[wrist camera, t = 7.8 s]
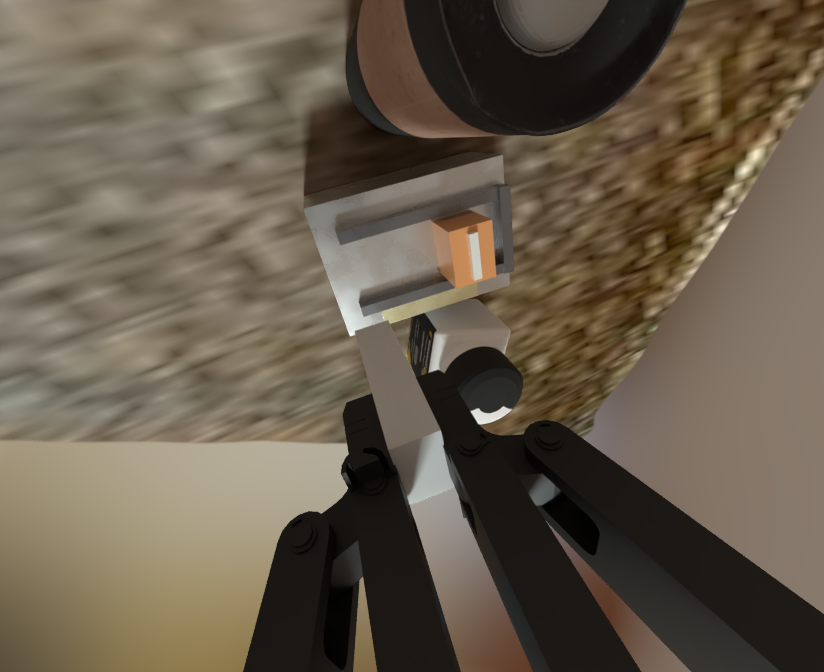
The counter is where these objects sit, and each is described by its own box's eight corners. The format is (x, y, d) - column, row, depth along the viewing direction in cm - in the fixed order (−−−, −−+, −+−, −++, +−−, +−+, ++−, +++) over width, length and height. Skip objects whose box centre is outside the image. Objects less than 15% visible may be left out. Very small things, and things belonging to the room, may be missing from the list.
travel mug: (421, -17, 23) (745, -447, 6) (458, 110, 27) (708, 65, 10) (319, 37, 23) (359, -244, 6) (372, 156, 27) (482, 186, 10)
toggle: (431, 221, 25) (450, 233, 21) (469, 209, 25) (494, 220, 22) (440, 272, 27) (458, 291, 23) (475, 261, 27) (498, 278, 24)
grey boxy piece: (303, 195, 27) (303, 212, 21) (468, 151, 29) (511, 155, 23) (343, 305, 32) (351, 343, 26) (479, 263, 34) (517, 290, 28)
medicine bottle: (413, 298, 34) (458, 365, 24) (478, 297, 36) (545, 359, 26) (406, 358, 37) (443, 440, 27) (466, 355, 39) (521, 429, 29)
